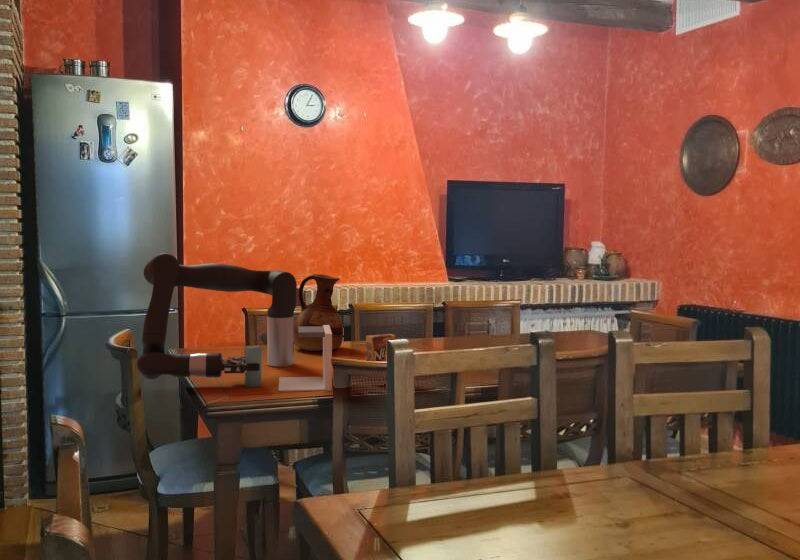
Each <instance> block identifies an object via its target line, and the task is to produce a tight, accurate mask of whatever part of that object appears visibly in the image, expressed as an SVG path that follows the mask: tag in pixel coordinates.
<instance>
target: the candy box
mask: <svg viewBox="0 0 800 560" xmlns="http://www.w3.org/2000/svg"><path fill="white" fill-rule="evenodd" d="M388 340H395V341H396V335H395V334H392V333H384V334H382V333H381V334H370V335H369V334H367V335H366V337H365V357H364V358H365V360H366V361H386V342H387V341H388Z"/></svg>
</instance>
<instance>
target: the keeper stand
mask: <svg viewBox="0 0 800 560" xmlns="http://www.w3.org/2000/svg"><path fill="white" fill-rule="evenodd" d="M298 335H299V337H323V351H322V376H296V377H295V376H289V377H288V376H287V377H286V376H285V377H283V376H282V377H281V376H279V378H278V379H279V380H278V392H322V391H324V392H325V391H327V392H329V391H332V390H333V389H332V381H333V377H332V376H333V374H332V373H333V372H332V371H333V370H332V368H333V363H332V364H331V359H332V360H333V349H332V332H331V329H330V326H329V325H323V326H307V327H298Z"/></svg>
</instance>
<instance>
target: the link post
mask: <svg viewBox="0 0 800 560" xmlns="http://www.w3.org/2000/svg"><path fill="white" fill-rule="evenodd" d="M262 348H263V347H262V346H260V345H247V346H245V347H244V349H245V350H244V353H245V354H244V357H245V363H259V364H260V370H259V371H247V372H244V386H245V387H246V388H247V387H249V388H257V387H261V386H262V355H263V354H262Z"/></svg>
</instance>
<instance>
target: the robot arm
mask: <svg viewBox="0 0 800 560" xmlns="http://www.w3.org/2000/svg"><path fill="white" fill-rule="evenodd" d="M143 276H144V279H145V280H146V281H147V282H148V283H149V284H150V285H152V293H151V298H150V302H149V305H148V308H147V311H146V314H145V318H144V322H143V323H144V324H143V328H142V338H141V343H142V348H143V350H142V354H141V355H140V356H139V357H138V359H137V361H136V366H137V370H138V371H139V373H140V374H141V376H143V377H144V378H145V379H147V380H156V379H158V378H160V376H161V375H162V376H163V375H169V376H172V377H177V378H198V379H199V378H201V379H202V378H221V377H222V375H223V372H224V374H245V372H247V371H259V370H260V364H259V363H245V356H228V357H227V359H223V354H222V353H221V352H197V353H178V354H174V353H168V352H166V341H167V335H168V334H167V333H168V325H169V324H168V323H169V314H170V309H171V305H172V303H171V302H172V299H173V293H174V289H175V287H185V288H193V289H199V290H208V291H209V290H210V291H216V292H217V291H218V292H226V293H227V292H228V293H238V292H256V293H262V294H266V295H269V296H271V297H272V298H271V305H270V306H269V307H268V308H267V311H266V312H267V317H266V319H267V322H266V323H267V328H266V329H267V330H266V331H267V332H266V333H267V338H266V339H267V353H266V354H267V357H266V359H267V362H266V363H267V366H270V367H277V368H279V367H283V368H284V367H290V366H293V365H294V363H295V362H294V358H295V357H294V356H295V355H294V354H295V352H294V350H295V349H294V345H295V344H294V324H295V316H294V315H295V311H296V306H297V296H298V295H297V294H298V291H297V289H298V288H297V285H298V284H297V280H296V277H295V276H294V275H293V273H292V272H288V271H283V270H254V269H249V268H246V267H243V266H238V265H234V264H233V265H232V264H228V263H215V262H213V263H200V264H193V265H192V264H191V265H186V264H185V265H184V264H180V263H179V261H178V258H176V256H174V255H173V254H171V253H167V252H162V253H159V254H157V255H155V256H154V257H153V258H152V259H150V261H148V262H147V264H146V265H145V266H144V268H143Z"/></svg>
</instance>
